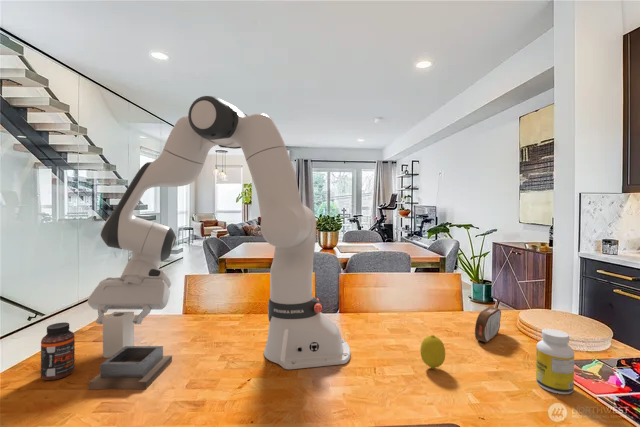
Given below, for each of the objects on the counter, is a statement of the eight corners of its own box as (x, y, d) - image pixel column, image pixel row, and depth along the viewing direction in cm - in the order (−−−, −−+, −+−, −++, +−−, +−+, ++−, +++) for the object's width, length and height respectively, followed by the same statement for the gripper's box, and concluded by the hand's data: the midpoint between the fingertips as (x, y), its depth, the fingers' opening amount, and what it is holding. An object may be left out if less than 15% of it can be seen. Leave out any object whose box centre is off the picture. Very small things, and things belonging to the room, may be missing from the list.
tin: (491, 329, 101) (491, 303, 101) (502, 332, 98) (502, 305, 98) (473, 344, 90) (473, 314, 90) (485, 347, 88) (485, 316, 88)
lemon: (429, 376, 73) (429, 341, 72) (415, 364, 78) (416, 331, 78) (450, 372, 74) (450, 338, 74) (435, 361, 79) (435, 329, 79)
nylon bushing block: (134, 348, 87) (133, 311, 87) (122, 357, 82) (122, 317, 82) (115, 348, 87) (115, 311, 86) (103, 357, 82) (102, 317, 81)
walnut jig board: (172, 361, 79) (172, 355, 79) (146, 388, 67) (146, 381, 67) (123, 361, 79) (122, 355, 79) (88, 389, 67) (88, 382, 67)
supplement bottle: (55, 383, 70) (55, 331, 69) (33, 380, 71) (33, 328, 71) (81, 369, 75) (80, 321, 75) (60, 367, 77) (60, 319, 76)
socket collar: (163, 358, 78) (162, 346, 78) (142, 378, 69) (142, 364, 69) (125, 358, 78) (125, 346, 78) (100, 378, 69) (100, 364, 69)
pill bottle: (537, 375, 73) (538, 324, 73) (574, 386, 69) (574, 331, 69) (534, 388, 68) (535, 333, 68) (573, 400, 64) (574, 341, 64)
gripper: (97, 271, 91) (71, 317, 81) (170, 271, 91) (152, 317, 82) (107, 283, 96) (84, 328, 86) (176, 283, 96) (161, 328, 86)
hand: (118, 323), depth 84 cm, fingers open, 8 cm apart
